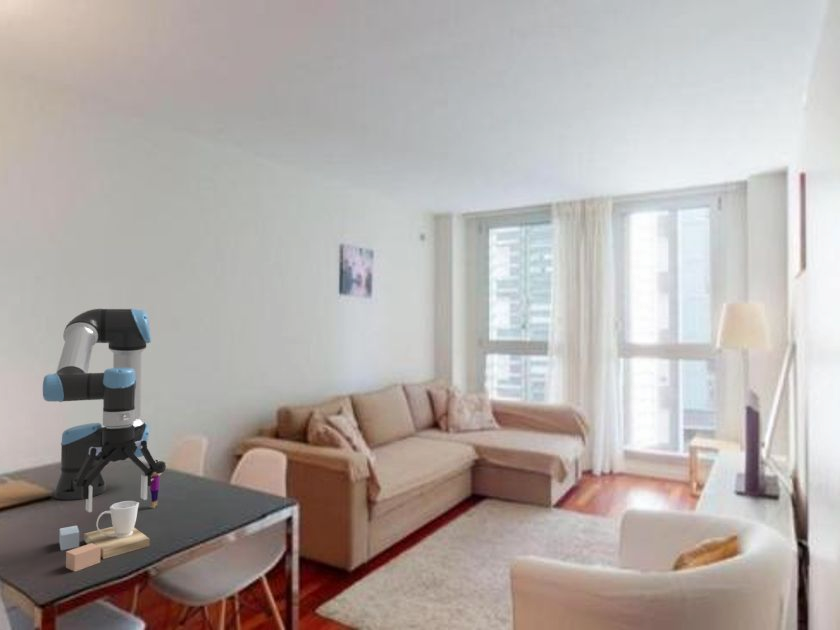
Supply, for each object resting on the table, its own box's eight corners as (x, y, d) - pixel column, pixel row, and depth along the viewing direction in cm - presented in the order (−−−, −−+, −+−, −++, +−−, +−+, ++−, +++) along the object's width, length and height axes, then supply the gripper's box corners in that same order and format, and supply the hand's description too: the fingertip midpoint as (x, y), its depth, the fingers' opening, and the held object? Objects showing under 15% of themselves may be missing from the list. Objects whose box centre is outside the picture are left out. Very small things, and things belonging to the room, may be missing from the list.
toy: (155, 501, 179) (155, 456, 179) (172, 501, 180) (173, 456, 180) (141, 512, 169) (142, 464, 169) (159, 512, 169) (160, 464, 170)
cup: (140, 536, 145) (140, 506, 146) (96, 544, 140) (97, 512, 140) (137, 527, 151) (137, 498, 151) (95, 535, 146) (95, 505, 146)
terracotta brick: (74, 572, 129) (75, 555, 129) (65, 568, 131) (66, 551, 131) (100, 562, 134) (100, 546, 134) (91, 559, 136) (91, 543, 136)
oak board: (84, 540, 147) (84, 533, 147) (127, 529, 155) (128, 522, 155) (103, 558, 136) (103, 550, 136) (149, 546, 144) (149, 538, 144)
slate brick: (59, 543, 145) (59, 528, 145) (76, 540, 148) (77, 525, 148) (61, 551, 141) (61, 535, 141) (79, 547, 143) (79, 532, 143)
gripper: (69, 434, 134) (67, 520, 134) (171, 421, 152) (170, 496, 152) (60, 430, 139) (59, 512, 139) (160, 417, 158) (159, 490, 157)
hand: (117, 504), depth 146 cm, fingers open, 13 cm apart
